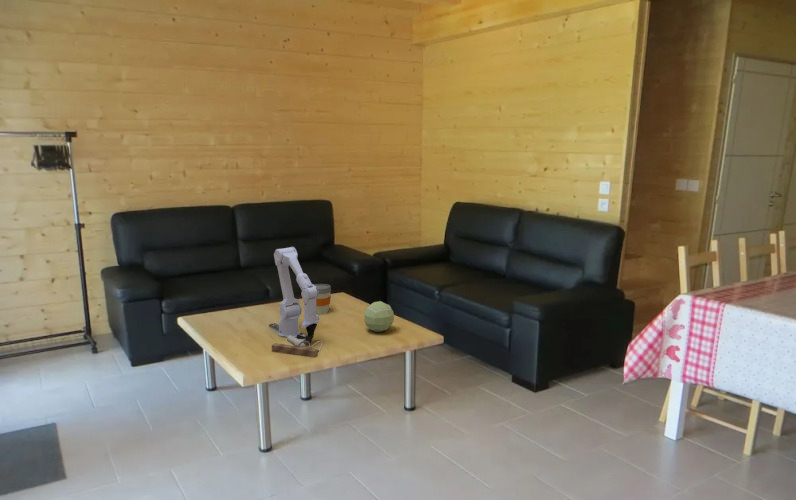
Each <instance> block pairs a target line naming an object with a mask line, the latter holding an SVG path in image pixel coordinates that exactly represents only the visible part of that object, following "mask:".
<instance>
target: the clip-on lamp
mask: <svg viewBox="0 0 796 500" xmlns="http://www.w3.org/2000/svg"><path fill="white" fill-rule="evenodd" d="M300 332H301V333H300V335H299V334H298V335H297V337H294V336H292V335H289V336H288V337H286V341H287V342H288V343H289V344H290V345H292V346H300V347H306V345H307V346H308V348H313V346H315V345H316V344H318V343H320V342H321V344H320V347H319V348H318V349H317V351H318V352H319V351H320V350H321V348H322V346H323V340H322V339H321V340H318V341H316V342H315V343H313V344H312V342H313V339H314V337H313V336H312V335H311V336H308V334H306V333H304V332H302V331H300ZM312 338H313V339H312ZM311 344H312V345H311Z"/></svg>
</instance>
